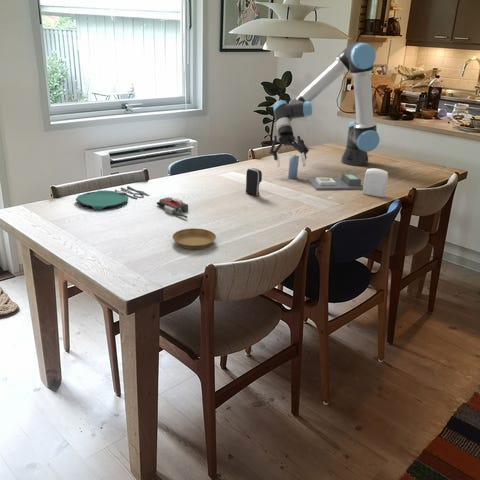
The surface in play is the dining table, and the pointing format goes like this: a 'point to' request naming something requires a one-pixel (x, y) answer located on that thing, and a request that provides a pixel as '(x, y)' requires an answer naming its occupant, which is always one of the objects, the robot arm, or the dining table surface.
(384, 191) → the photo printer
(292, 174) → the cell
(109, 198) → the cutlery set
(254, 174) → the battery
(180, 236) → the plant saucer
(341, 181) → the cell checker
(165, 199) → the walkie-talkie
